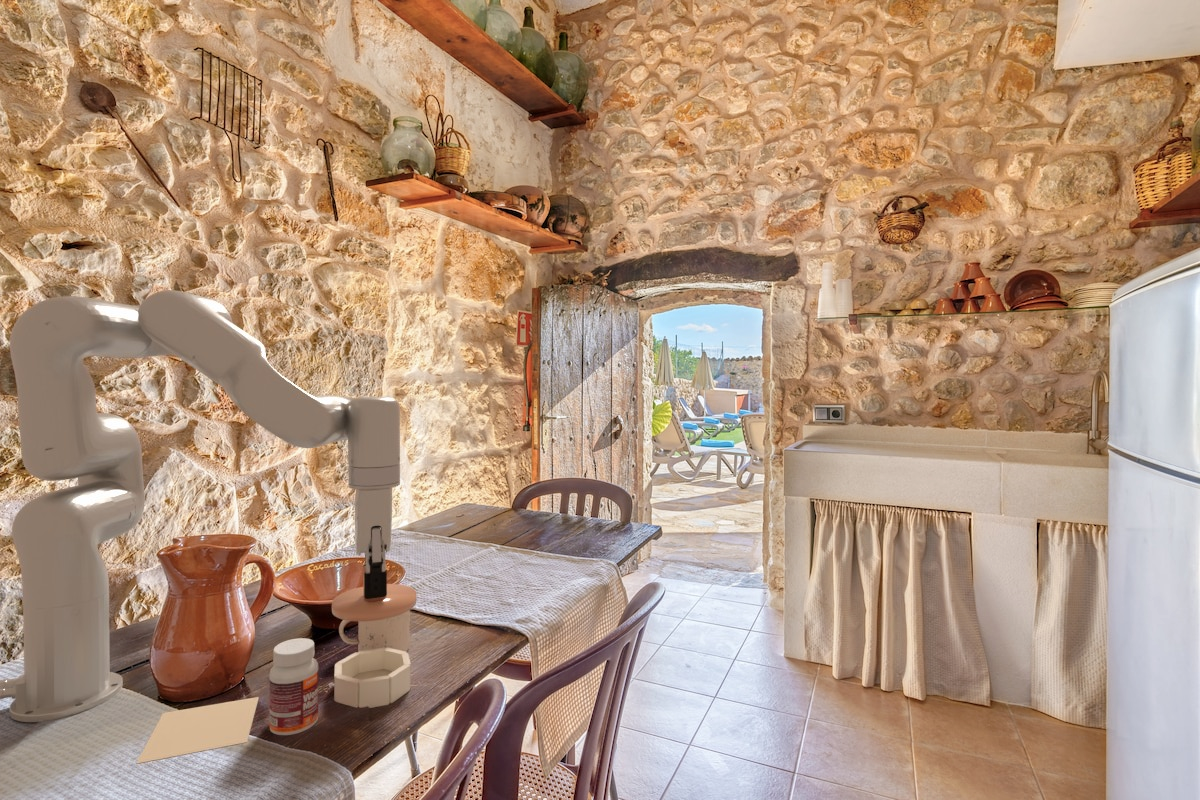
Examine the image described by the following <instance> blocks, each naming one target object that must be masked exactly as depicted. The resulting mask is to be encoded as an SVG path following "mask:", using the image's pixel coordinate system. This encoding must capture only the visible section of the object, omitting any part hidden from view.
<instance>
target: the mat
mask: <svg viewBox="0 0 1200 800" xmlns="http://www.w3.org/2000/svg"><path fill="white" fill-rule="evenodd" d="M259 698H260V696H255V697H250V698H249V697H248V698H244V699H238V700H234V701H233V700H232V701H225V702H219V703H214V704H207V705H202V706H198V707H197V706H196V707H191V708H186V709H180V710H173V711H166V712H162V714H161V716H160V718H159V720H158V721H157V724H156V725H155V728H154V730H153V731H152V733H151V734H150V737H149V739H148V741H147V743H146V744H145V745H144V748H143V750H142V751H141V754H140V755H139V757H138V759H137V760H136V763H138V764H143V763H147V762H153V761H158V760H163V759H168V758H169V759H170V758H175V757H178V756H179V757H180V756H183V755H191V754H194V753H199V752H205V751H210V750H214V749H215V750H216V749H221V748H226V747H230V746H236V745H241V744H246V743H248V740H249V736H250V733H251V730H252V729H251V728H252V726H253V721H254V718H255V714H256V709H257V707H258V703H259ZM138 764H137V765H138Z"/></svg>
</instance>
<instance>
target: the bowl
mask: <svg viewBox="0 0 1200 800" xmlns="http://www.w3.org/2000/svg"><path fill="white" fill-rule="evenodd" d="M411 666H412V665H411V659H410V655H409V652H408V651H407V652H405V651H401V650H396V649H392V648H388V647H387V648H385V647H383V648H377V649H370V650H364V651H358V650H357V652H356V651H355V652H354V653H351V654H349V655H348V656H345V658H343V659H340V660H339V661H337V662H336V663H335V664H334V674H333V675H334V677H333V678H334V681H333V685H334V688H333V689H334V693H333V694H334V695H333V696H334V698H333V700H334V701H335V702H336V703H338V704H343V705H346V706H349V707H353V708H357V709H358V707H359V709H360V708H366V707H368V709H372V708H373V709H374V708H376V707H377V708H378V707H383V706H388V705H390V704H394V702H396V701H397V700H398V699H400V698H401V697H403V696H404V695H405V694H407V693H408V692H409V691H410V690H411V687H412V686H411V685H412V684H411V682H412V681H411V677H412V674H411V671H412V670H411V669H412V668H411Z"/></svg>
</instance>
